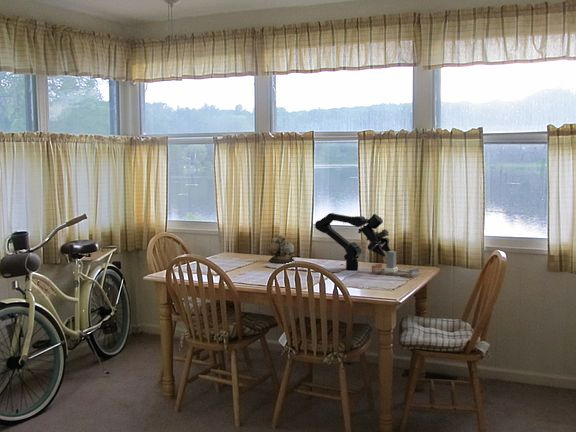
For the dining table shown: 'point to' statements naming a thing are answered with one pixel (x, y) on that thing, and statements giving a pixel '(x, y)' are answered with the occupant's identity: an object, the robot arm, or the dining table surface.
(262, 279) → the dining table surface
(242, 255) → the dining table surface
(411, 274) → the track
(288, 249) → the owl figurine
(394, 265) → the carriage
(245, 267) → the dining table surface
